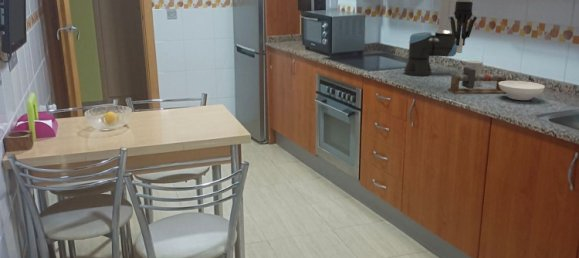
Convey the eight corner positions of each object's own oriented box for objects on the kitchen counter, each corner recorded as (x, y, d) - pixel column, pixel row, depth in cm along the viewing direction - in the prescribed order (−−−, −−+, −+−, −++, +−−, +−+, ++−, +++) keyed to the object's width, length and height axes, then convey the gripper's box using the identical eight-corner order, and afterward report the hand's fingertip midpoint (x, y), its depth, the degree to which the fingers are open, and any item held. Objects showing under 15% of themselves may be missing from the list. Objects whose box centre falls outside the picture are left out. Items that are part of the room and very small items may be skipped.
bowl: (519, 105, 234) (521, 90, 233) (487, 96, 252) (489, 82, 250) (552, 102, 242) (554, 87, 240) (518, 93, 259) (520, 79, 257)
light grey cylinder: (481, 86, 274) (483, 63, 271) (464, 86, 276) (466, 62, 272) (478, 84, 282) (481, 61, 278) (462, 83, 283) (465, 60, 280)
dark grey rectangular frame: (468, 88, 256) (470, 69, 253) (462, 85, 264) (463, 67, 261) (473, 88, 256) (475, 69, 254) (466, 85, 264) (468, 67, 261)
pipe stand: (454, 93, 256) (456, 75, 254) (448, 90, 264) (449, 72, 261) (506, 93, 258) (509, 75, 256) (499, 90, 266) (501, 73, 264)
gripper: (453, 1, 244) (448, 53, 250) (481, 1, 245) (475, 53, 251) (447, 0, 251) (442, 51, 258) (474, 1, 253) (469, 51, 259)
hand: (459, 52), depth 254 cm, fingers closed
